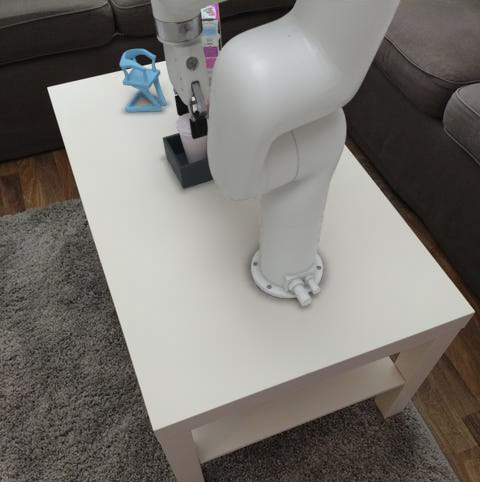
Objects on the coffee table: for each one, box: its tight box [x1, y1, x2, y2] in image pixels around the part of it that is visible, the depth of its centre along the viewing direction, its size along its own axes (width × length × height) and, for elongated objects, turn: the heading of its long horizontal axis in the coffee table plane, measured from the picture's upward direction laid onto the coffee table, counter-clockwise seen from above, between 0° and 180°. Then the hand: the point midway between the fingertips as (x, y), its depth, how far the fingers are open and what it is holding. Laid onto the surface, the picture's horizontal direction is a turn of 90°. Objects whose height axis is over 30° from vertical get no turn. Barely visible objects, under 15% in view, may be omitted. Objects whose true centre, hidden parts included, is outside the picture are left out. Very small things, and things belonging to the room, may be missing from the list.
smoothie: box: [175, 100, 208, 164], centre depth 87 cm, size 6×6×14 cm
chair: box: [119, 48, 167, 113], centre depth 100 cm, size 8×8×12 cm
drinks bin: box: [161, 132, 214, 190], centre depth 91 cm, size 11×11×5 cm
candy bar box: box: [201, 3, 223, 89], centre depth 103 cm, size 11×5×16 cm, turn 3°
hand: (192, 124), depth 85 cm, fingers open, 7 cm apart
